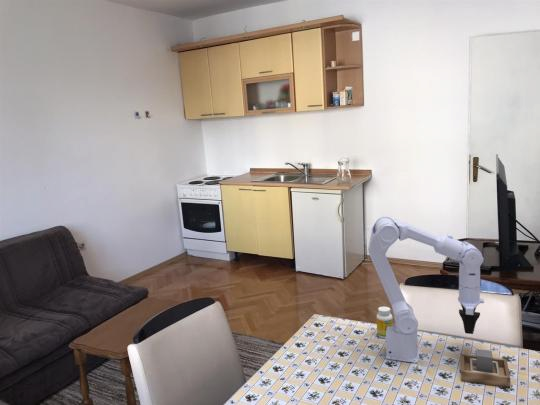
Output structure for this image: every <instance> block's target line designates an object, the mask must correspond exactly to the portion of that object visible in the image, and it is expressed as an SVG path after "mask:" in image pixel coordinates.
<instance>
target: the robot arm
mask: <svg viewBox="0 0 540 405" xmlns="http://www.w3.org/2000/svg"><path fill="white" fill-rule="evenodd" d="M398 239H399V241H401V242H402V241H404V240H407V239H411V240H412V241H416V242H419V243H421V244H424V245H427V246H430V247H433V249H434V251H435V253H436V254H439V255H442V256H444V257H446V258H449V259H452V260H454V261H458V262H459V269H458V297H457V300H458V303H459V304H460V306H461V308H462V309H460V308H459V309H458V314H459V317H460V318H461V321H462V324H463V330H464V332H465V334H469V335H473V334H474V332H475V328H476V323H477V322H478V319H479V318H480V316H481V312H479V311H478V312H477V311H476V309H477V307H478V306H479V305H480V304H484V303H485V299H484V298H481V265H483V262H484V257H483V254H482V252H481V251H480V250H479V249H478V248H477V247H476V246H475V245H474V244H471V243H470V242H467V241H465V240H464V241H460V240H458V239H455V238H454V236H453V235H451V234H448V233H447V235H446V234H440V235H438V236H436V235H434V234H432V233H430V232H428V231H426V230H424V229H423V230H422V229H420V228H418V227H416V226H414V225H411V224H409V223H407V222H405V221H401V220H398V219H392V218H391V217H388V216H381V217H379V218H378V219H377V220H376V221H375V222H374V224H373V225H372V227H371V231H370V238H369V244H368V247H367V248H368V249H367V252H368V254H369V255H368V256H369V257H370V259H371V262H372V264H373V266H374V269H375V270H376V273H377V274H376V275H377V276H378V278H379V280H380V283H381V285H382V287H383V289H384V291H385V295H386V296H387V298H388V301H389V303H390V305H391V306H390V307H392V317H393V318H394V320H395V322H394V323H393V326H388V327H387V329H386V338H385V359H386V360H393V361H400V362H405V363H407V362H409V363H412V364H413V363H414V364H418V363H419V358H420V352H421V349H420V348H418V327H419V321H418V319H417V318H416V315H415V313H414V309H413V306H411V305H410V304H409V303H408V302H407V301H406V298H405V296H404V294H403V291H402V289H401V287H400V285H399V283H398V280H397V278H396V276H395V273H394V271H393V269H392V266H391V264H390V262H389V260H388V258H387V252H388V250H389V248H390V247H392V245H393V244H395V243H396V242H397V240H398Z"/></svg>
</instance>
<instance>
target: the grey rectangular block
mask: <svg viewBox="0 0 540 405" xmlns="http://www.w3.org/2000/svg"><path fill="white" fill-rule="evenodd" d="M475 355H476V371H480V372H487V373H493V358H494V357H493V356H494V355H493V351H492V350H488V349H487V350H486V349H479V348H476V349H475Z"/></svg>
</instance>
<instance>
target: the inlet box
mask: <svg viewBox="0 0 540 405" xmlns="http://www.w3.org/2000/svg"><path fill="white" fill-rule="evenodd" d="M460 370H461V371H460V372H461V374H460V376H461V382H464V383H471V384H472V383H473V384H477V385H478V384H479V385H486V386H491V387H492V386H493V387H497V388H498V387H499V388H506V389H511V375H510V370H509V365H508V359H506V358H502V357H493V373H487V372H480V371H476V354H468V353H460Z"/></svg>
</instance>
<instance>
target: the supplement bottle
mask: <svg viewBox="0 0 540 405" xmlns="http://www.w3.org/2000/svg"><path fill="white" fill-rule="evenodd" d="M377 310H378V311H377V314H376V333H377V334H376V335H377V336H378V338H379V337H380V338H381V339H386V329H387V327H388V326H393V325H394V323H393V322H394V319H393V318H394V316H393V314H392V313H391V308H390V307H388V306H380V307H379V306H378V308H377Z"/></svg>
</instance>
